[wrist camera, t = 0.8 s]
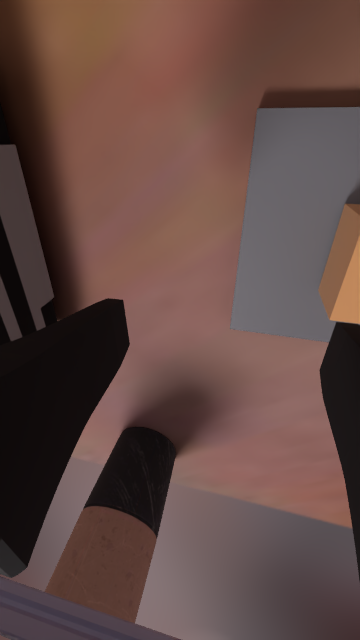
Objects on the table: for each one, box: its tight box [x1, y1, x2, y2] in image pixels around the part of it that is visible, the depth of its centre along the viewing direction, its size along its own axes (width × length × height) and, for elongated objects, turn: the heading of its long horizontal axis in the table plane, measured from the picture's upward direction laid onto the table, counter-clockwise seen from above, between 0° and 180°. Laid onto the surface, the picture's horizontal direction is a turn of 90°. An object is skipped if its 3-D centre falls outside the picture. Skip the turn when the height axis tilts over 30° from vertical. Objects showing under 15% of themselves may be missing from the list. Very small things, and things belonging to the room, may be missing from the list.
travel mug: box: [45, 427, 176, 623], centre depth 26 cm, size 8×8×20 cm
